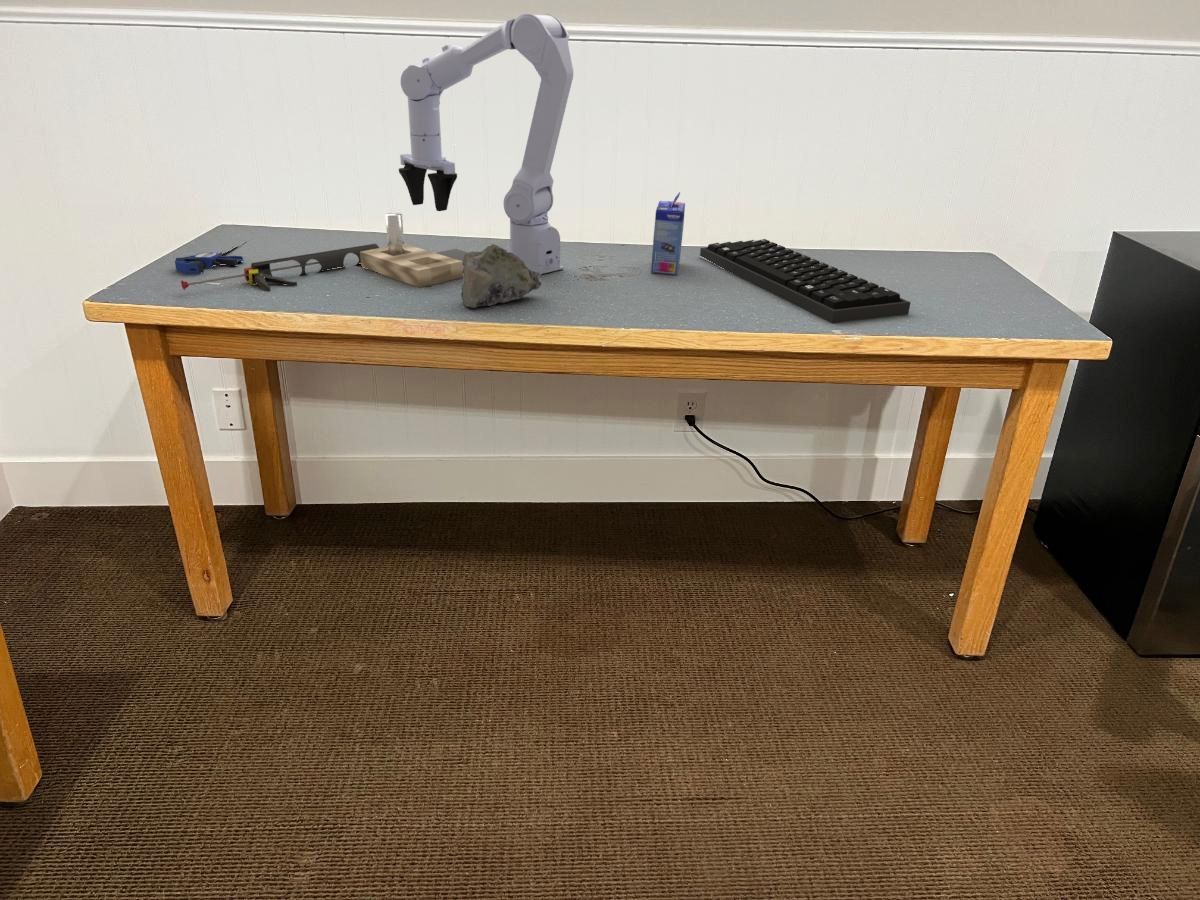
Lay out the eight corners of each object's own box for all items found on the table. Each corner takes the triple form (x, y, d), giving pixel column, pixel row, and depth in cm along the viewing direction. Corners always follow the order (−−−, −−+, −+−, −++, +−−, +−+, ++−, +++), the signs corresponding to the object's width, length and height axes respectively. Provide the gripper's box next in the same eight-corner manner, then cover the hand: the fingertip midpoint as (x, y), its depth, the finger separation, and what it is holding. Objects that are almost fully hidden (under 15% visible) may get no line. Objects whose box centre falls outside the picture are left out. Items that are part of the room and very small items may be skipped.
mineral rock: (542, 296, 152) (542, 238, 147) (534, 314, 142) (534, 253, 138) (469, 292, 152) (467, 235, 148) (456, 310, 143) (453, 250, 138)
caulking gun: (397, 257, 164) (368, 237, 170) (200, 292, 141) (174, 267, 146) (396, 277, 167) (368, 256, 172) (202, 313, 143) (177, 289, 148)
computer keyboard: (699, 260, 180) (701, 242, 178) (764, 255, 185) (766, 237, 184) (831, 326, 143) (834, 304, 141) (907, 317, 148) (911, 295, 147)
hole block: (463, 277, 161) (462, 261, 159) (419, 287, 154) (418, 270, 153) (404, 258, 171) (403, 243, 170) (361, 267, 165) (359, 251, 163)
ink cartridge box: (679, 275, 166) (684, 198, 160) (650, 274, 167) (654, 196, 160) (681, 263, 175) (686, 189, 168) (653, 261, 176) (658, 187, 169)
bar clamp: (223, 263, 156) (167, 262, 156) (225, 277, 157) (170, 275, 157) (282, 230, 186) (235, 229, 186) (283, 242, 187) (237, 241, 187)
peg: (408, 266, 166) (405, 213, 162) (399, 270, 164) (395, 216, 159) (396, 264, 167) (392, 212, 163) (386, 268, 165) (382, 214, 160)
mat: (487, 259, 173) (487, 257, 173) (447, 267, 166) (447, 266, 166) (455, 250, 179) (455, 248, 179) (416, 258, 172) (416, 256, 172)
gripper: (466, 137, 163) (469, 210, 169) (419, 129, 172) (423, 199, 178) (436, 139, 158) (440, 215, 164) (389, 131, 167) (394, 203, 173)
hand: (429, 207), depth 171 cm, fingers open, 7 cm apart
